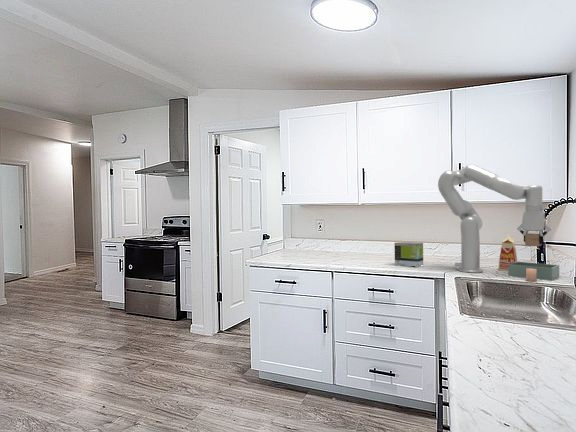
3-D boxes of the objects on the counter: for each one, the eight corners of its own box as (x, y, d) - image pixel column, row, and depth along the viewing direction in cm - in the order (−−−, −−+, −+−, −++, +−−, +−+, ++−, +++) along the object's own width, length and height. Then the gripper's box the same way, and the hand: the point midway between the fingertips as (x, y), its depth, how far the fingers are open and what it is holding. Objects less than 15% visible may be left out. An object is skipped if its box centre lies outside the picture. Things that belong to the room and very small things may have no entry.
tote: (508, 275, 206) (508, 264, 206) (517, 272, 215) (517, 261, 215) (552, 280, 192) (552, 268, 192) (559, 276, 201) (559, 265, 201)
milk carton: (501, 268, 230) (501, 234, 229) (518, 269, 224) (519, 235, 224) (497, 270, 223) (497, 235, 222) (516, 271, 217) (516, 236, 217)
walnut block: (528, 244, 207) (528, 233, 207) (541, 245, 203) (541, 233, 203) (525, 245, 203) (525, 234, 203) (538, 246, 199) (538, 234, 199)
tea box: (423, 265, 243) (423, 242, 243) (416, 267, 236) (416, 243, 236) (401, 263, 254) (401, 241, 253) (394, 265, 246) (394, 242, 246)
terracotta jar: (524, 281, 191) (524, 269, 191) (527, 279, 194) (527, 267, 194) (534, 282, 188) (535, 270, 188) (537, 281, 191) (537, 268, 191)
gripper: (555, 209, 199) (554, 244, 199) (517, 209, 212) (517, 242, 212) (551, 209, 194) (550, 245, 194) (513, 209, 207) (512, 243, 207)
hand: (533, 243), depth 203 cm, fingers closed on walnut block, 6 cm apart
